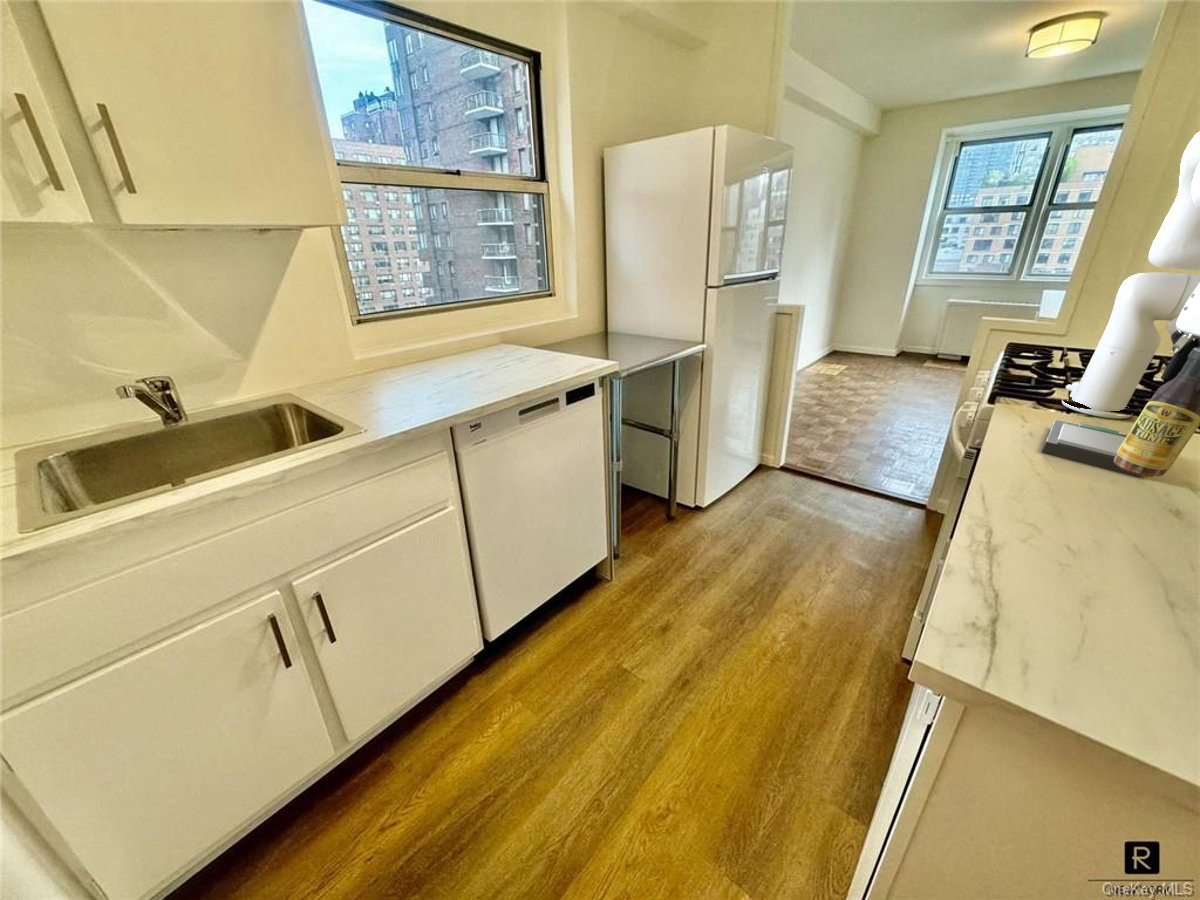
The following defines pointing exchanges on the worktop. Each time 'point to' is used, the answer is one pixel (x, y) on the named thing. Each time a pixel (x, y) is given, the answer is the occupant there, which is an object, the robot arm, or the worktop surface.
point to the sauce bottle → (1164, 424)
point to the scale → (1085, 444)
